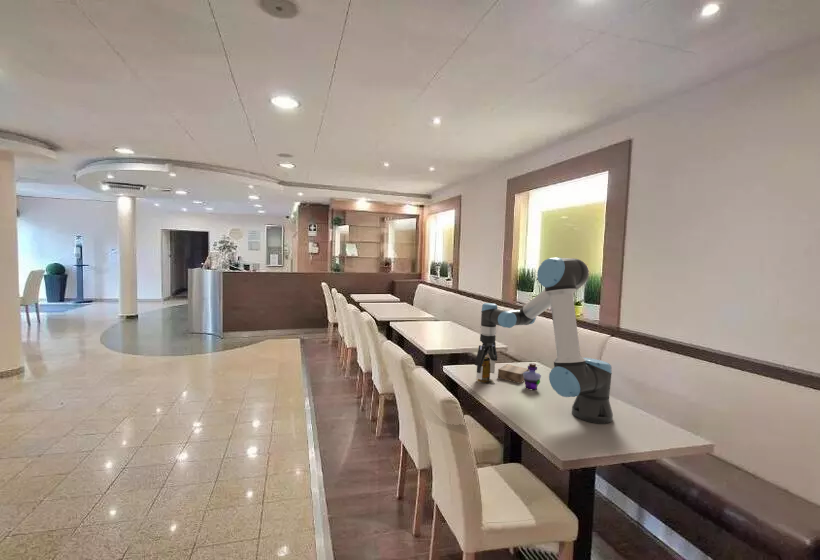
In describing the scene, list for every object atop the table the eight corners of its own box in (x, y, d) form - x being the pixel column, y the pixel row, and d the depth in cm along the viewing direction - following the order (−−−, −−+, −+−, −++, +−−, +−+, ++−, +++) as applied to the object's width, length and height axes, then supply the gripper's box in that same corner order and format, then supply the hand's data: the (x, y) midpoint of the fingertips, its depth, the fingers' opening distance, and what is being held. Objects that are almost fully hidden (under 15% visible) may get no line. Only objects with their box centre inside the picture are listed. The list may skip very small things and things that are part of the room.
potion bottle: (539, 392, 185) (540, 367, 184) (520, 389, 188) (521, 364, 188) (541, 387, 193) (543, 363, 192) (523, 383, 196) (525, 360, 195)
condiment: (476, 378, 202) (477, 355, 201) (492, 379, 201) (494, 356, 200) (477, 383, 195) (478, 359, 194) (494, 384, 194) (496, 360, 193)
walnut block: (528, 378, 207) (528, 368, 207) (520, 383, 197) (520, 374, 197) (506, 373, 214) (507, 364, 214) (497, 378, 204) (498, 369, 204)
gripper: (492, 329, 208) (490, 368, 210) (469, 336, 189) (466, 379, 190) (505, 332, 204) (503, 372, 205) (483, 339, 184) (480, 383, 186)
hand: (485, 375), depth 198 cm, fingers open, 13 cm apart
